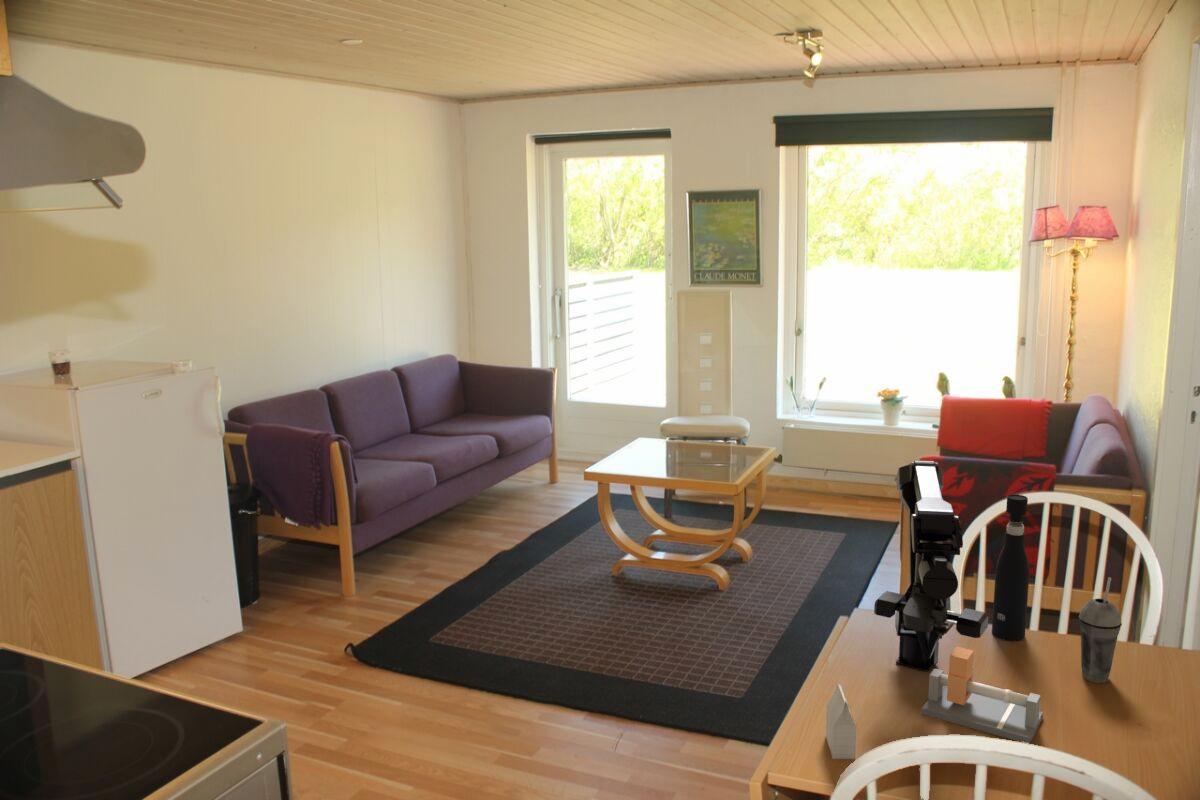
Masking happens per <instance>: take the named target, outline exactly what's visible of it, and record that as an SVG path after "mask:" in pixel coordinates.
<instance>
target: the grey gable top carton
mask: <svg viewBox="0 0 1200 800" xmlns="http://www.w3.org/2000/svg"><path fill="white" fill-rule="evenodd" d="M825 715H826V717H825V718H826V721H825V723H826V725H825V738H826V742H827V744H828V747H829V751H830V755H831V758H832V760H856V752H857V751H856V749H857V747H856V746H857V725H856V722H855V719H854V716H853V713H852V711H851V708H850V706H849V703H848V701H847V699H846V697H845V694H844V691H843V688H842V685H841V684H840V683H837V685H836V688H835V690H834V692H833V694H832V695H831V697H830V699H829V700H828V702H827V704H826V714H825Z"/></svg>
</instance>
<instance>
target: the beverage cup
mask: <svg viewBox="0 0 1200 800" xmlns="http://www.w3.org/2000/svg"><path fill="white" fill-rule="evenodd" d="M1111 582H1112V577H1110V576H1109V577H1107V582H1106V585H1105V586H1106V588H1105V592H1104V596H1103V598H1093V599H1090V600H1089V601H1087V602H1085V603H1084V605H1083V606H1082V607H1081V608H1080V611H1079V615H1078V620H1079V627H1080V653H1081V655H1080V661H1081V676H1082V677H1083V679H1085V680H1087V681H1089V682H1092V683H1097V682H1101V683H1106V681H1107V682H1108V681H1109V678H1110V674H1111V670H1112V665H1113V661H1114V660H1113V659H1114V655H1115V651H1116V645H1117V641H1118V635H1119V634H1120V630H1121V627H1122V617H1121V613H1120V610H1119V608H1118V607H1117V606H1116V605H1115V604H1114V603H1113V602H1112V601H1109V600H1108V596H1109V592H1110V587H1111ZM1101 683H1100V684H1101Z"/></svg>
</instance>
